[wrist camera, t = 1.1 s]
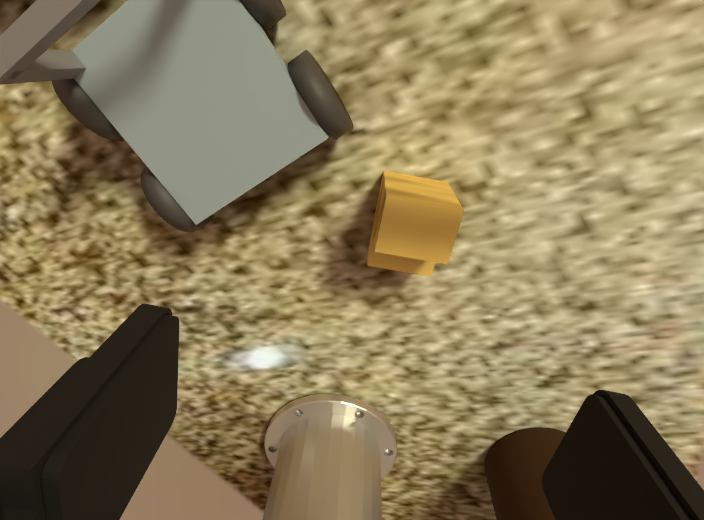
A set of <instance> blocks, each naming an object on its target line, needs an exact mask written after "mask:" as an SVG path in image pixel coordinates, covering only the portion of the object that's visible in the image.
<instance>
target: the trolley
mask: <svg viewBox="0 0 704 520" xmlns="http://www.w3.org/2000/svg"><path fill="white" fill-rule="evenodd" d="M99 1H100V0H36V1H35V2H34V3H33V4H32V5H31V6H30V7H29V8H28V9H27V10H26V11H25V12H24V13H23V14H22V15H21V16H20V17H19V18H18V19H17V20H16V21H15V22H14V23H13V24H12V25H11V26H10V27H9V28H8V29H7V30H6V31H5V32H4V33H3V34H2V35H0V84H13V83H26V82H38V81H51V80H52V84H53V87H54V90H55V92H56V94H57V95H58V97H59V99H60V100H61V102H62V103H63V104H64V106H65V107H66V108H67V109H68V110H69V111H70V113H71V114H72V115H73V116H74V117H75V118H76V119H77V120H79V121H80V122H81V123H82V124H83V125H85V126H86V127H87V128H89V129H90V130H92V131H93V132H95V133H97V134H98V135H100V136H102V137H104V138H107V139H110V140H114V141H124V140H125V141H126V142H127V143H128V144H129V145H130V146H131V148H132V149H133V150H134V151H135V152H136V154H137V155H138V156H139V157H140V158H141V160H142V161H143V162H144V163H145V164H146V166H147V167H146V168H145V169H144V170H143V171H142V174H141V185H142V189H143V192H144V194H145V196H146V198H147V200H148V201H149V203H150V205H151V206H152V207H153V209H154V210H155V211H156V212H157V213H158V214H159V216H161V217H162V218H163V219H164V220H165V221H166V222H167V223H169V224H170V225H172V226H173V227H175V228H177V229H179V230H182V231H185V232H194V231H196V230H198V229H199V228H201V227H202V226H204V225H205V224H207V223H209V222H210V221H211V220H212V219H213V217H214V213H215V212H217V211H218V210H220V209H221V208H223V207H224V206H226V205H227V204H229V203H230V202H232V201H233V200H235V199H236V198H238V197H240V196H241V195H243V194H244V193H246V192H247V191H249V190H250V189H252V188H253V187H255V186H256V185H258V184H259V183H261V182H262V181H264V180H265V179H267V178H268V177H270V176H272V175H273V174H275V173H276V172H278V171H279V170H281V169H282V168H284V167H285V166H287V165H288V164H290V163H291V162H293V161H294V160H296V159H297V158H299V157H300V156H302V155H304V154H305V153H307V152H308V151H310V150H311V149H313V148H314V147H316V146H317V145H319V144H320V143H322V142H323V141H325V140H326V139H328V137H329V135H330V136H331V137H332V138H334V139H338V138H339V137H341V136H342V135H344V134H345V133H347V132H348V131H350V130H351V129H353V123H352V121H351V118H350V116H349V114H348V112H347V110H346V108H345V106H344V104H343V102H342V100H341V99H340V97H339V95H338V93H337V92H336V90H335V88H334V87H333V85H332V83H331V82H330V80H329V79H328V77H327V76H326V74H325V72H324V71H323V69H322V68H321V67H320V65H319V64H318V62H317V61H316V60H315V58H314V57H313V56H312V55H311V54H310V53H309V52H308V51H307V50H305V51H304V52H302V53H301V54H300V55H298V56H297V57H296V58H294V59H293V60H292V61H290V62H289V63H288V68H287V67H286V65H285V64H284V62H283V61H282V59H281V57H280V56H279V54H278V53H277V51H276V50H275V48H274V46H273V45H272V43H271V42H270V40H269V39H268V37H267V35H266V34H265V32H264V31H263V29H262V28H261V26H260V24H259V23H258V21H259V22H260V23H261V24H262V25H263V26H264V27H265V28H267V29H269V28H271V27H272V26H273V25H275V24H276V23H277V22H278V21H280V20H281V19H282V18H284V17H285V16H286V11H285V9H284V6H283V4H282V2H281V0H127V1H126V2H125V3H124V4H123V5H122V6H121V7H120V8H119V9H117V10H116V11H115V12H114V13H113V14H112V15H111V16H110V17H109V18H107V19H106V20H105V21H104V22H103V23H102V24H101V25H100V26H99V27H97V28H96V29H95V30H94V31H93V32H92V33H91V34H90V35H89V36H87V37H86V38H85V39H84V40H83V41H82V42H81V43H80V44H79V45H77V46H76V47H75V48H74V49H73V50H47V49H48V48H49V47H50V46H52V45H53V44H54V43H55V42H56V41H57V40H58V39H59V38H60V37H61V36H62V35H63V34H65V33H66V32H67V31H68V30H69V29H70V28H71V27H72V26H73V25H74V24H75V23H76V22H78V21H79V20H80V19H81V18H82V17H83V16H84V15H85V14H86V13H87V12H88V11H90V10H91V9H92V8H93V7H94V6H95V5H96V4H97V3H98V2H99ZM256 19H257V20H258V21H257V20H256ZM288 69H289V70H288Z"/></svg>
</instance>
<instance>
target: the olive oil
mask: <svg viewBox="0 0 704 520" xmlns="http://www.w3.org/2000/svg"><path fill="white" fill-rule="evenodd" d="M565 434H566V433H565V432H563V431H560V430H556V429H551V428H529V429H524V430H520V431H517V432H514V433H511V434H509V435H507V436H505V437H504V438H502V439H501V440H499V441H498V442H497V443H496V444H495V445H494V446H493V447H492V448H491V449H490V451H489V452H488V454H487V456H486V459H485V472H486V477H487V481H488V485H489V489H490V493H491V498H492V502H493V506H494V510H495V514H496V518H497V520H555V518H554V515H553V513H552V510H551V508H550V505H549V503H548V501H547V498H546V496H545V493H544V491H543V487H542V475H543V472H544V470H545V469H546V467H547V465H548V463H549V462H550V460H551V458H552V456H553V455H554V453H555V451H556V450H557V448H558V446H559V444H560V443H561V441H562V439H563V437H564V436H565Z"/></svg>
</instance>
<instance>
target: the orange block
mask: <svg viewBox="0 0 704 520" xmlns="http://www.w3.org/2000/svg"><path fill="white" fill-rule="evenodd" d="M463 212H464V210H463V208H462V206H461V204H460V203H459V201H458V199H457V198H456V196H455V194H454V193H453V191H452V189H451V188H450V186H449V184H448V183H447V182H443V181H438V180H432V179H427V178H421V177H416V176H410V175H404V174H399V173H393V172H388V171H384V172H383V177H382V182H381V186H380V191H379V196H378V201H377V206H376V211H375V216H374V221H373V225H372V230H371V235H370V240H369V245H368V265H367V266H372V267H377V268H383V269H389V270H395V271H401V272H407V273H413V274H419V275H424V276H430V277H431V275H432V272H433V268H434V265H435V262H437V263H443V264H448V262H449V258H450V255H451V252H452V248H453V245H454V242H455V239H456V235H457V232H458V229H459V225H460V222H461V219H462V215H463Z"/></svg>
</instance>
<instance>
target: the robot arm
mask: <svg viewBox="0 0 704 520" xmlns="http://www.w3.org/2000/svg"><path fill="white" fill-rule="evenodd" d="M178 347H179V318H178V317H176V316H172V312H171V309H169V308H165V307H159V306H154V305H149V304H141V305H140V306H139V307H138V308H137V309H136V310H135V311H134V312H133V313H132V314H131V315H130V316H129V317H128V318H127V319H126V320H125V321H124V322H123V323H122V324H121V325H120V326H119V327H118V328H117V329H116V331H115V332H114V333H113V334H112V335H111V336H110V337H109V338H108V339H107V340H106V341H105V342H104V343H103V344H102V345H101V346H100V347H99V348H98V349H97V350H96V351H95V352H94V353H93V354H92V356H91V357H90V358H88V357H85V358H82V359H80V360H79V361H77V362H76V363H75V364H74V365H73V366H72V367H71V368H70V369H69V370H68V371H67V372H66V373H65V374H64V375H63V376H62V377H61V378H60V379H59V380H58V381H57V382H56V383H55V384H54V385H53V386H52V387H51V388H50V389H49V390H48V391H47V392H46V393H45V394H44V395H43V396H42V397H41V398H40V399H39V400H38V401H37V402H36V403H35V404H34V405H33V406H32V407H31V408H30V409H29V410H28V411H27V412H26V413H25V414H24V415H23V416H22V417H21V418H20V419H19V420H18V421H17V422H16V423H15V424H14V425H13V426H12V427H11V428H10V429H9V430H8V431H7V432H6V433H5V434H4V435H3V436H2V437H1V438H0V520H119V519H120V517H121V515H122V514H123V512H124V510H125V508H126V506H127V505H128V503H129V501H130V499H131V497H132V496H133V494H134V492H135V490H136V488H137V487H138V485H139V483H140V481H141V479H142V478H143V476H144V474H145V472H146V470H147V469H148V467H149V465H150V463H151V461H152V459H153V458H154V456H155V454H156V452H157V450H158V449H159V447H160V445H161V443H162V441H163V439H164V437H165V436H166V434H167V432H168V430H169V429H170V427H171V425H172V423H173V420H174V418H175V414H176V409H177V382H178ZM264 447H265V452H266V456H267V458H268V460H269V462H270V464H271V465H272V466H273V468H274V473H273V477H272V482H271V486H270V490H269V494H268V499H267V503H266V507H265V511H264V516H263V520H382V501H381V479H383V478H384V477H385V476H386V475H387V474H388V473H389V471H390V470H391V469H392V467H393V465H394V462H395V460H396V455H397V442H396V436H395V432H394V429H393V427H392V426H391V424H390V422H389V421H388V420H387V418H386V417H385V416H384V415H383V414H382V413H381V412H380V411H378V410H377V409H376V408H374V407H373V406H371V405H369V404H367V403H365V402H363V401H361V400H359V399H356V398H352V397H349V396H344V395H338V394H316V395H309V396H305V397H302V398H298V399H296V400H294V401H292V402H290V403H288V404H286V405H285V406H284V407H282V408H281V409H279V410H278V411H277V413H276V414H275V415H274V416H273V417H272V419H271V421H270V423H269V425H268V428H267V431H266V435H265V442H264ZM542 487H543V491H544V493H545V496H546V498H547V501H548V503H549V505H550V508H551V510H552V513H553V515H554V518H555V520H704V490H703V489H702V488H701V486H700V485H699V484H698V483H697V481H696V480H695V479H694V477H693V476H692V475H691V474H690V472H689V471H688V470H687V469H686V467H685V466H684V465H683V463H682V462H681V461H680V460H679V458H678V457H677V456H676V455H675V453H674V452H673V451H672V449H671V448H670V447H669V446H668V444H667V443H666V442H665V441H664V439H663V438H662V437H661V435H660V434H659V433H658V432H657V430H656V429H655V428H654V427H653V425H652V424H651V423H650V421H649V420H648V419H647V418H646V416H645V415H644V414H643V413H642V411H641V410H640V409H639V407H638V406H637V405H636V404H635V402H634V401H633V400H632V399H631V398H630V397H629V396H628V395H625V394H621V393H616V392H610V391H605V390H598V391H596V392H595V393H594V394H593V395H589V396H587V398H586V399H585V401H584V402H583V404H582V406H581V408H580V409H579V411H578V413H577V415H576V416H575V418H574V420H573V422H572V423H571V425H570V427H569V429H568V430H567V432H566V434H565V436H564V437H563V439H562V441H561V443H560V444H559V446H558V448H557V450H556V451H555V453H554V455H553V456H552V458H551V460H550V462H549V463H548V465H547V467H546V469H545V470H544V472H543V475H542Z"/></svg>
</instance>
